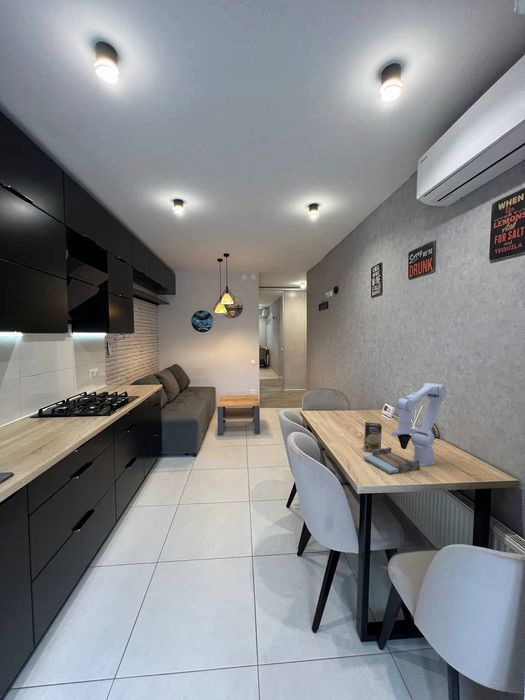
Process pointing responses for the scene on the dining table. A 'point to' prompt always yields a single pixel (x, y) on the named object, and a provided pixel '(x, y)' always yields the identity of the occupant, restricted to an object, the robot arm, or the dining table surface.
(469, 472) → the dining table surface
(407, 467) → the flatbed
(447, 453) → the dining table surface
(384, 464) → the bar
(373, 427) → the coffee box
